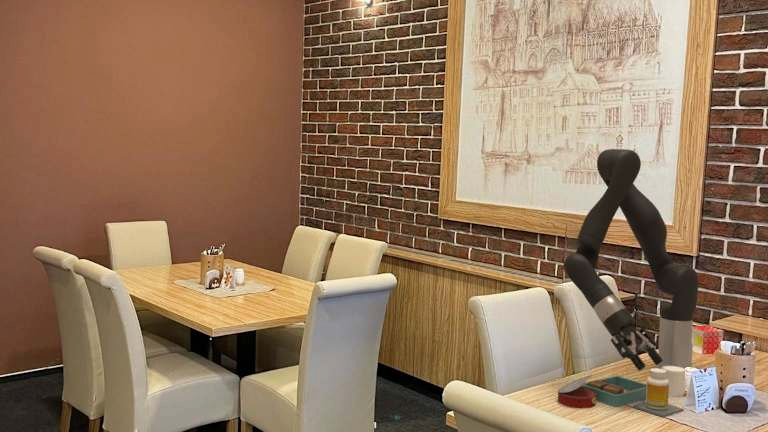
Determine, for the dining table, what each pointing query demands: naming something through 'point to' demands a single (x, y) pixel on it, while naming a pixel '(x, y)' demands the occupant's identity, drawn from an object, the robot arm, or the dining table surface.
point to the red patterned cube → (706, 339)
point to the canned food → (577, 394)
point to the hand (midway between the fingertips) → (651, 365)
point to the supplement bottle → (657, 389)
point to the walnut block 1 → (597, 384)
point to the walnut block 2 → (613, 389)
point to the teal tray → (634, 394)
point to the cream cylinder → (675, 380)
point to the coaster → (661, 413)
